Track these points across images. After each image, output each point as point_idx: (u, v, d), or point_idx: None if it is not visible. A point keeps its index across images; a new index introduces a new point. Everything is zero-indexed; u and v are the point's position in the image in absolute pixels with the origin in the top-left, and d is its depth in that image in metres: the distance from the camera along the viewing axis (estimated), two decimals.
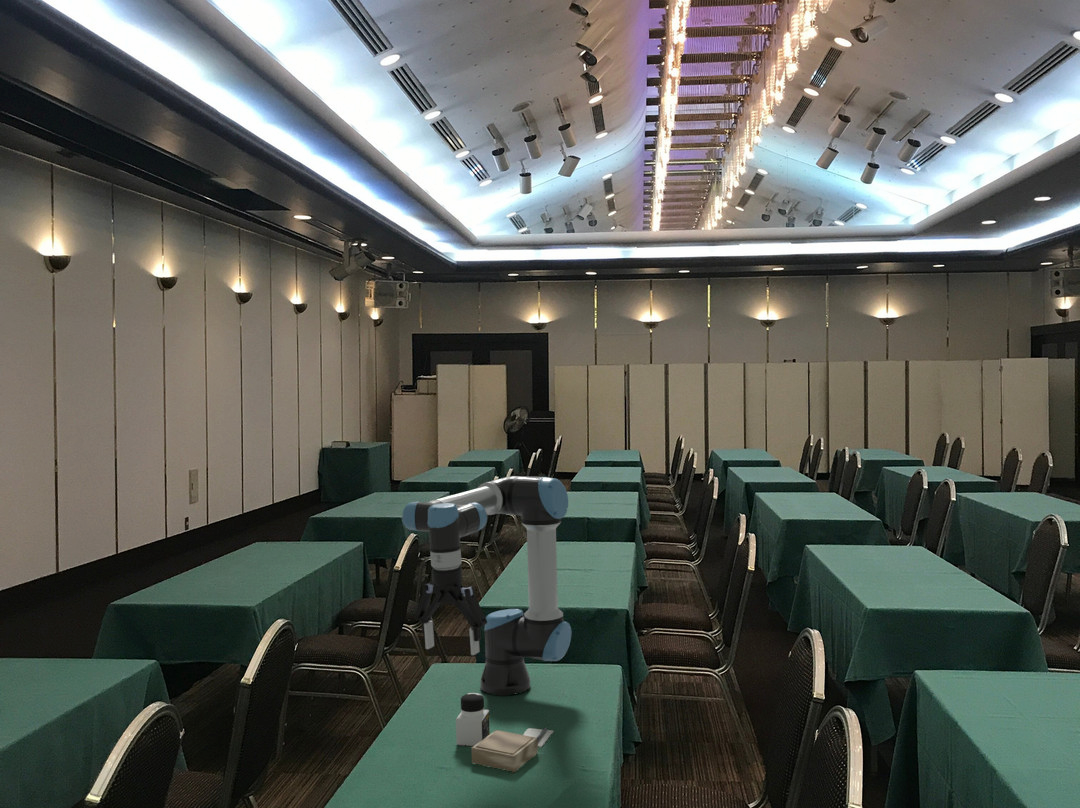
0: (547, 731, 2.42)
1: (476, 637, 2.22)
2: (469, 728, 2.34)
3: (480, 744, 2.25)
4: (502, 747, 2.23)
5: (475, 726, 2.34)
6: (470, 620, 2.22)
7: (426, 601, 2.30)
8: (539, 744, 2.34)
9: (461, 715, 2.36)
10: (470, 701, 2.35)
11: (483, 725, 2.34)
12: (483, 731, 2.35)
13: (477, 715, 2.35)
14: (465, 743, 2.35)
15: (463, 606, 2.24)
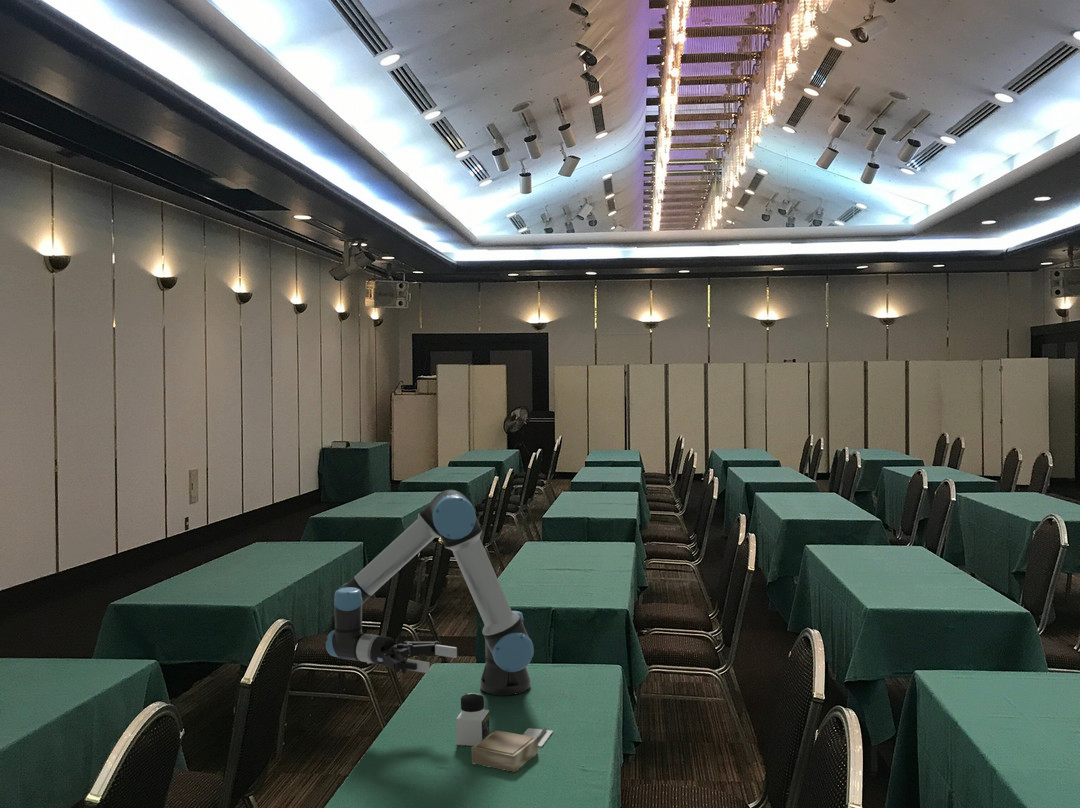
0: (547, 731, 2.42)
1: None
2: (469, 728, 2.34)
3: (480, 744, 2.25)
4: (502, 747, 2.23)
5: (475, 726, 2.34)
6: None
7: None
8: (539, 744, 2.34)
9: (461, 715, 2.36)
10: (470, 701, 2.35)
11: (483, 725, 2.34)
12: (483, 731, 2.35)
13: (477, 715, 2.35)
14: (465, 743, 2.35)
15: None
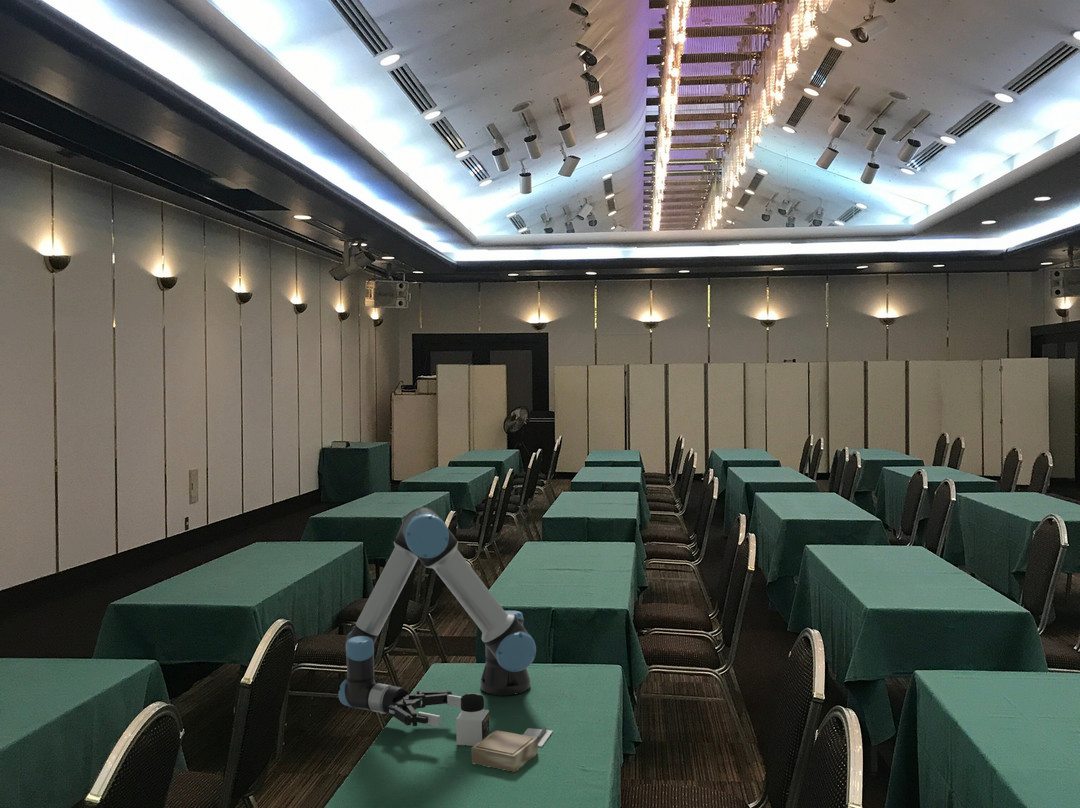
0: (547, 731, 2.42)
1: None
2: (469, 728, 2.34)
3: (480, 744, 2.25)
4: (502, 747, 2.23)
5: (475, 726, 2.34)
6: None
7: None
8: (539, 744, 2.34)
9: (461, 715, 2.36)
10: (470, 701, 2.35)
11: (483, 725, 2.34)
12: (483, 731, 2.35)
13: (477, 715, 2.35)
14: (465, 743, 2.35)
15: (407, 713, 2.41)
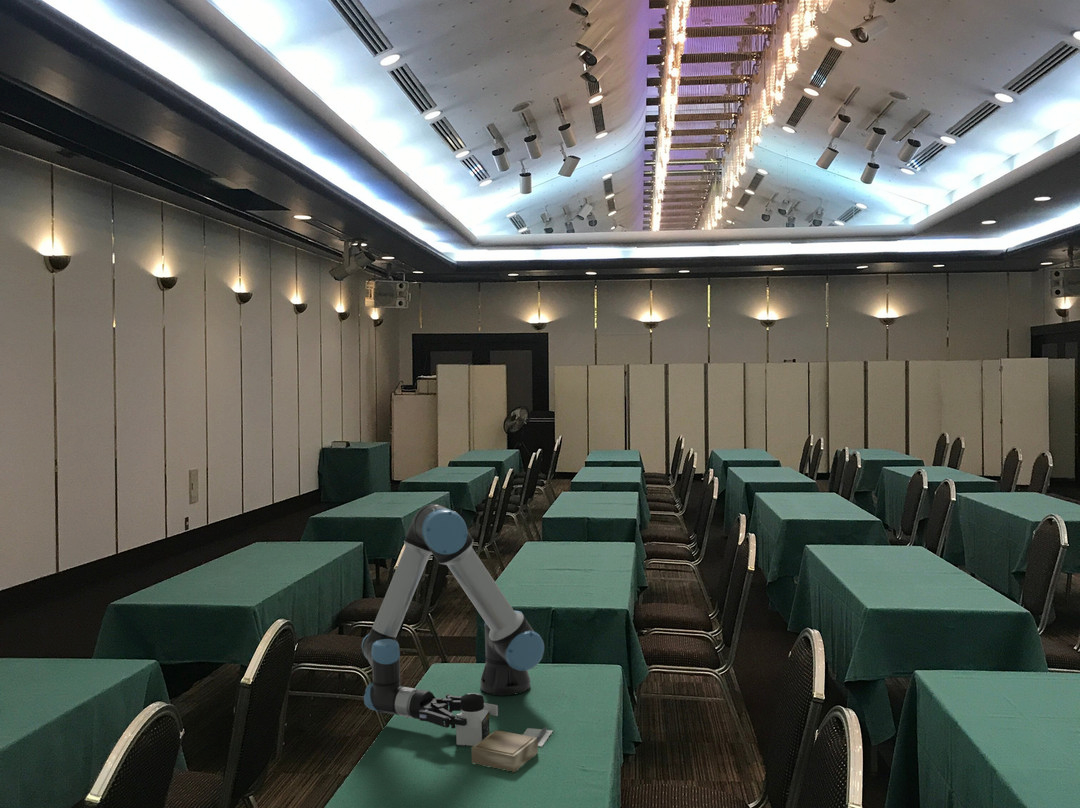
0: (547, 731, 2.42)
1: None
2: (468, 728, 2.34)
3: (480, 744, 2.25)
4: (502, 747, 2.23)
5: None
6: None
7: None
8: (539, 744, 2.34)
9: None
10: (470, 701, 2.35)
11: (482, 725, 2.34)
12: (483, 731, 2.35)
13: (477, 715, 2.35)
14: (465, 743, 2.35)
15: None
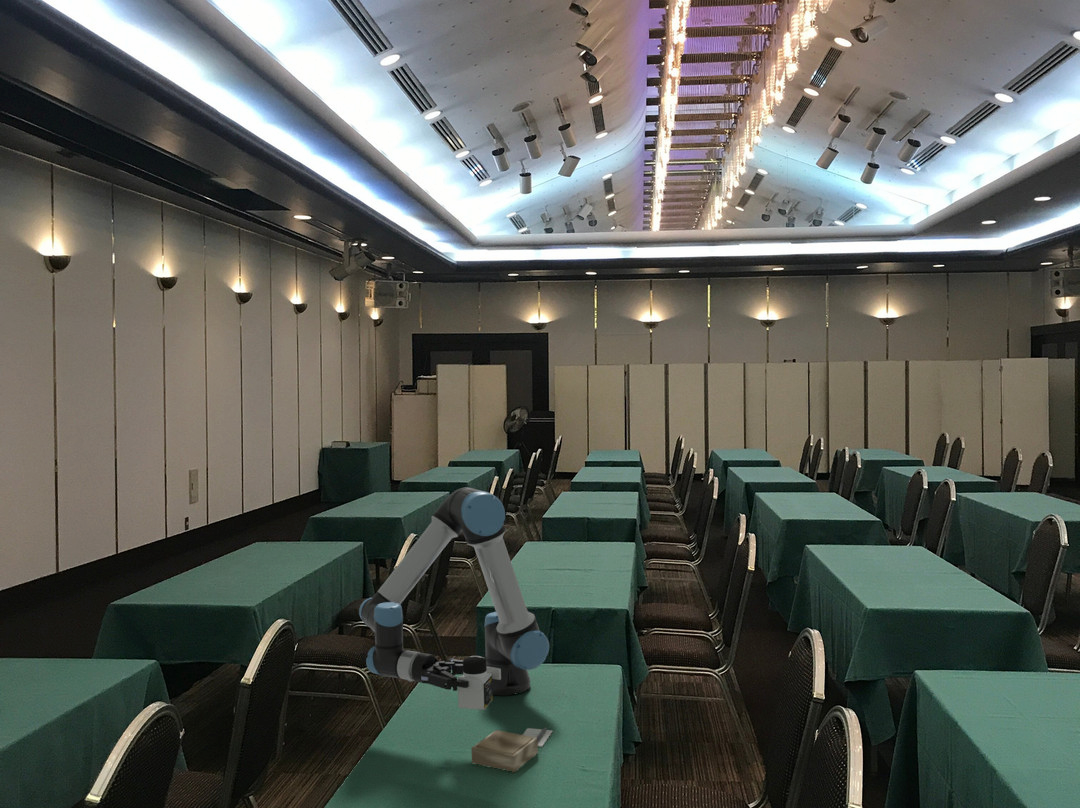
0: (547, 731, 2.42)
1: None
2: (470, 690, 2.30)
3: (480, 744, 2.25)
4: (502, 747, 2.23)
5: None
6: None
7: None
8: (539, 744, 2.34)
9: None
10: (472, 664, 2.31)
11: (485, 688, 2.30)
12: (485, 694, 2.30)
13: (479, 678, 2.31)
14: (467, 706, 2.31)
15: None
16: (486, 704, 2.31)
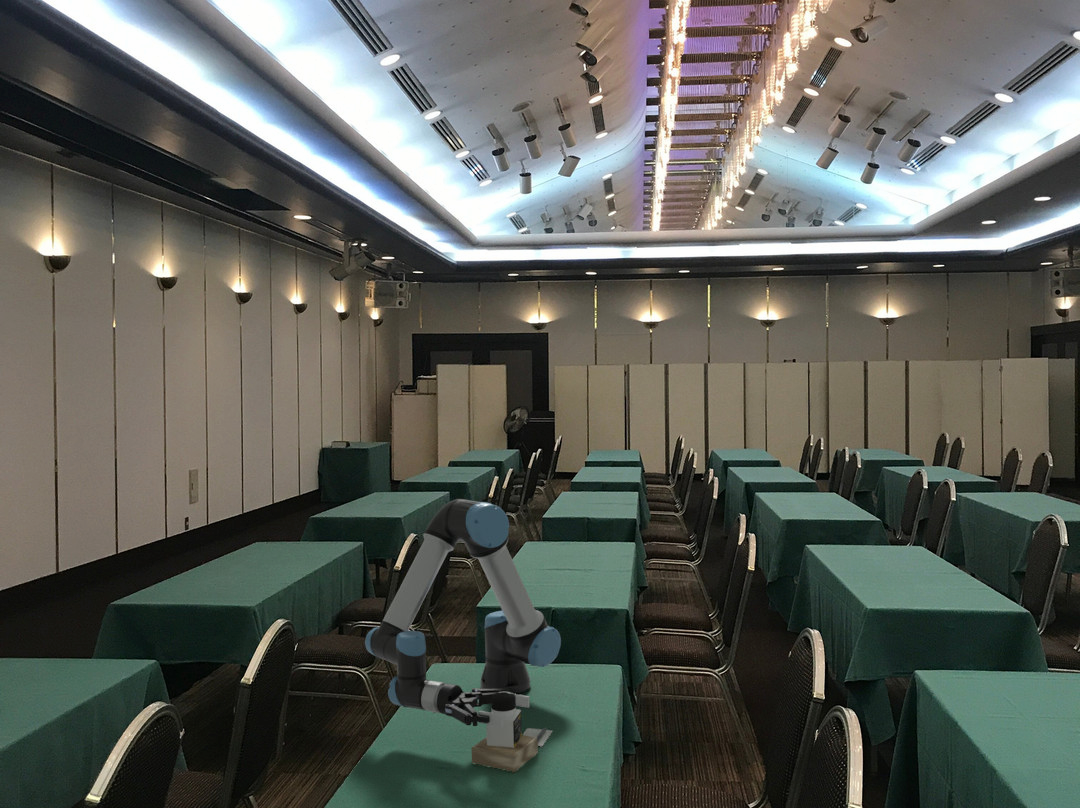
0: (546, 731, 2.42)
1: None
2: (499, 728, 2.23)
3: (480, 744, 2.25)
4: (502, 747, 2.23)
5: (506, 726, 2.23)
6: None
7: None
8: (539, 744, 2.34)
9: None
10: (501, 700, 2.23)
11: (514, 725, 2.23)
12: (515, 732, 2.23)
13: (508, 715, 2.24)
14: (496, 744, 2.23)
15: None
16: (516, 742, 2.24)
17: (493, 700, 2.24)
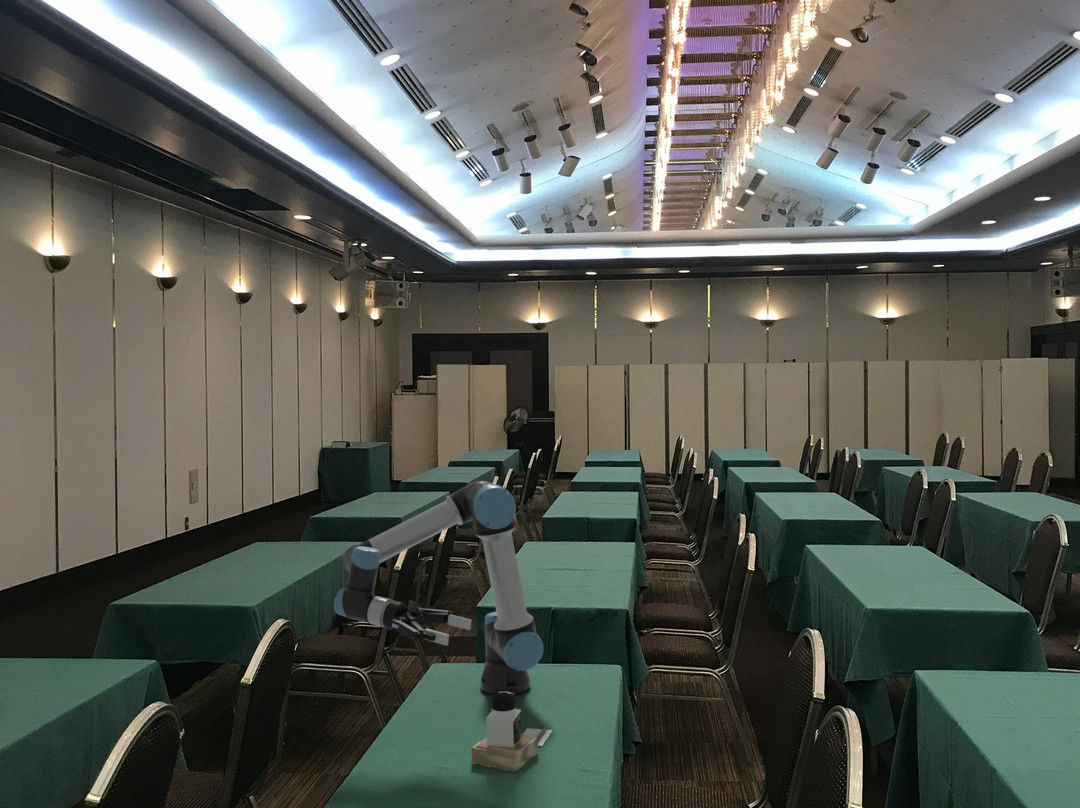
0: (546, 731, 2.42)
1: None
2: (499, 728, 2.23)
3: (480, 744, 2.25)
4: (502, 747, 2.23)
5: (506, 726, 2.23)
6: None
7: None
8: (539, 744, 2.34)
9: (492, 714, 2.25)
10: (501, 700, 2.23)
11: (514, 725, 2.23)
12: (515, 732, 2.23)
13: (508, 715, 2.24)
14: (496, 744, 2.23)
15: None
16: (516, 742, 2.24)
17: (493, 700, 2.24)
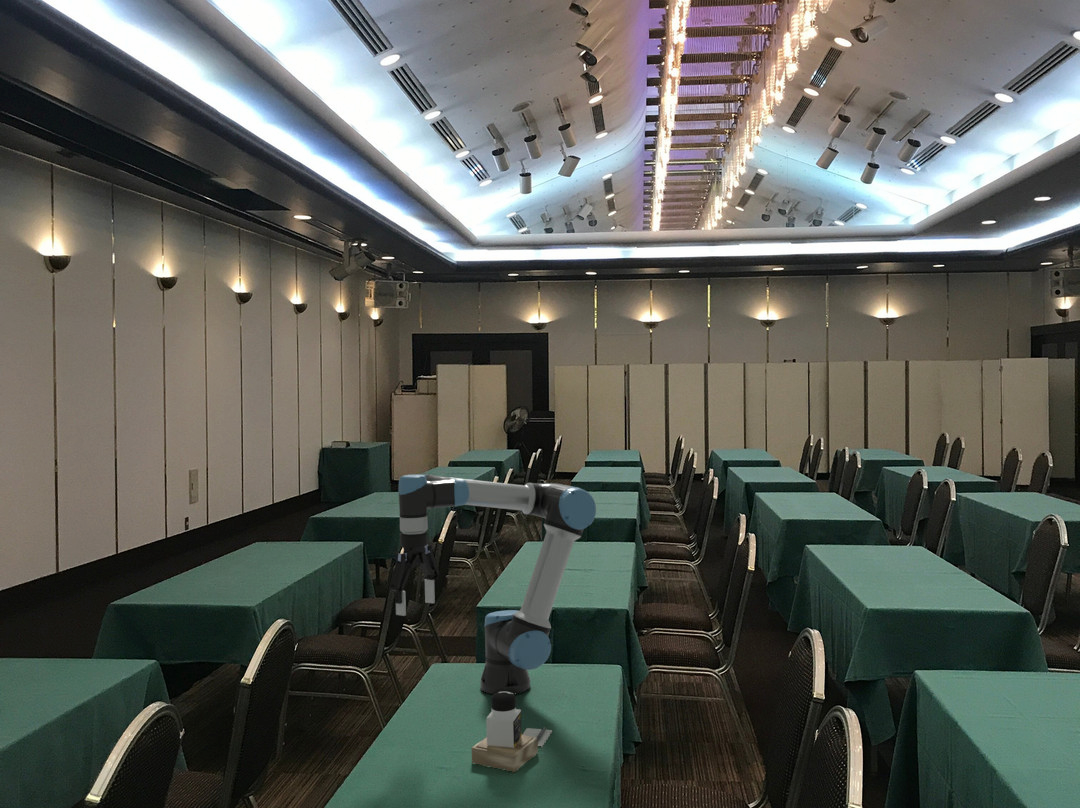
0: (546, 731, 2.42)
1: None
2: (499, 728, 2.23)
3: (480, 744, 2.25)
4: (502, 747, 2.23)
5: (506, 726, 2.23)
6: None
7: (429, 560, 2.55)
8: (539, 744, 2.34)
9: (492, 714, 2.25)
10: (501, 700, 2.23)
11: (514, 725, 2.23)
12: (515, 732, 2.23)
13: (508, 715, 2.24)
14: (496, 744, 2.23)
15: None
16: (516, 742, 2.24)
17: (493, 700, 2.24)
